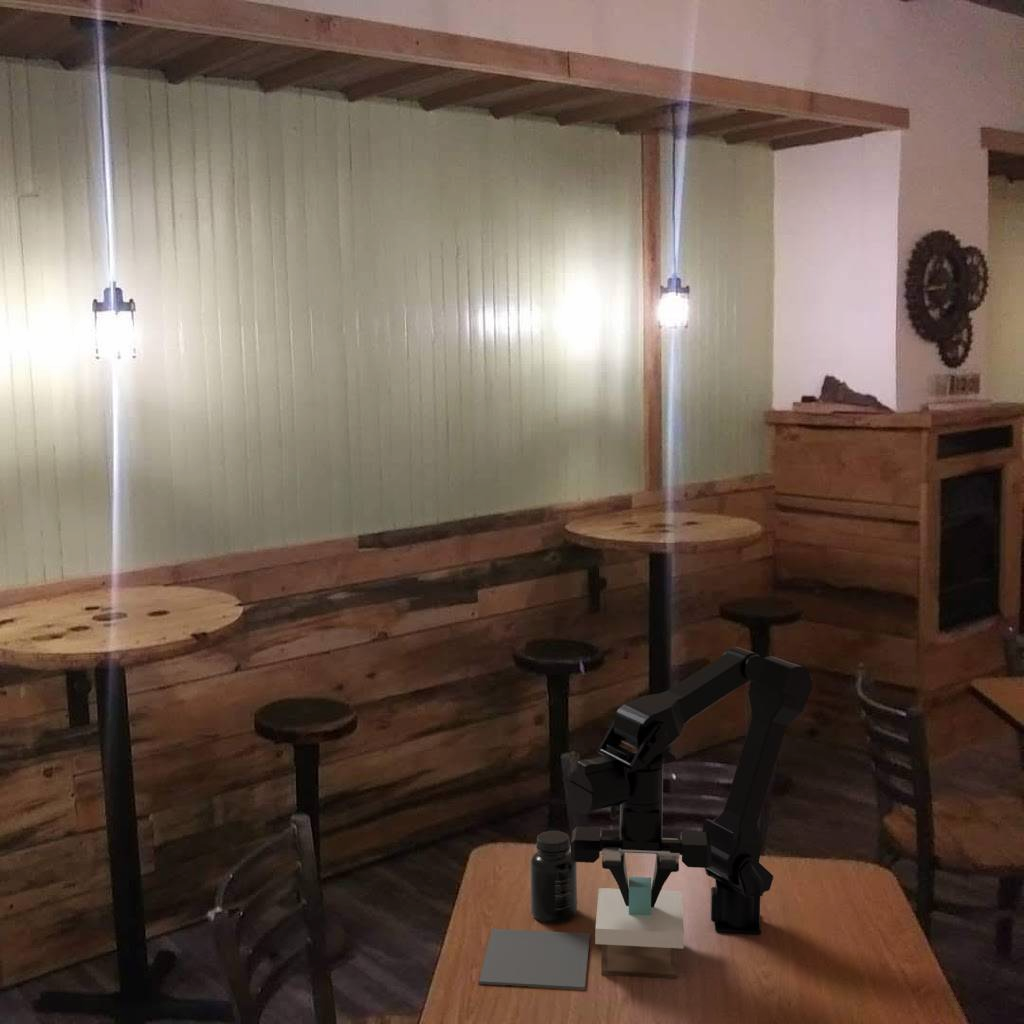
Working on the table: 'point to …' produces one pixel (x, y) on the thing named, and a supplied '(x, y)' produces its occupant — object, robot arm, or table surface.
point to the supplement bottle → (553, 879)
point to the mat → (536, 959)
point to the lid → (639, 917)
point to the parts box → (639, 961)
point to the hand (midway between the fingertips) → (639, 905)
